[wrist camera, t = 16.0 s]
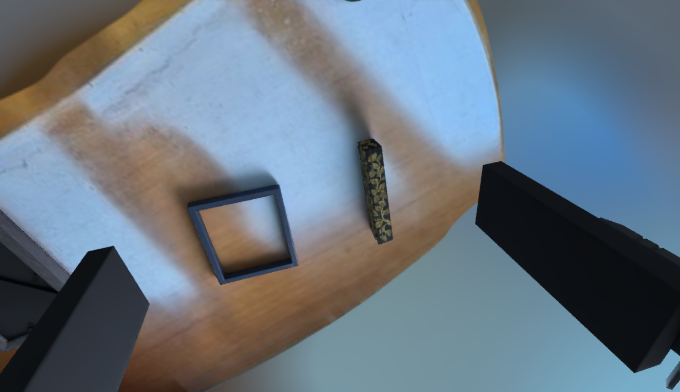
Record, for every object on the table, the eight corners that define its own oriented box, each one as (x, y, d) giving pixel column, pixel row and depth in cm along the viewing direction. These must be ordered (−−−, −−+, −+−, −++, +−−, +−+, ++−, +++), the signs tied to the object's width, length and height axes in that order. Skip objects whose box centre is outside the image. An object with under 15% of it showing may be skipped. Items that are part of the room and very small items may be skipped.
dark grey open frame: (188, 202, 40) (186, 207, 39) (279, 184, 42) (279, 188, 41) (220, 279, 47) (220, 285, 46) (297, 260, 49) (298, 265, 48)
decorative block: (356, 141, 41) (364, 151, 38) (373, 136, 42) (382, 146, 39) (371, 232, 49) (378, 246, 46) (385, 227, 50) (393, 241, 47)
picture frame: (104, 307, 45) (-2, 208, 35) (98, 319, 43) (-15, 217, 34) (11, 342, 44) (-123, 250, 35) (2, 355, 42) (-142, 262, 33)
